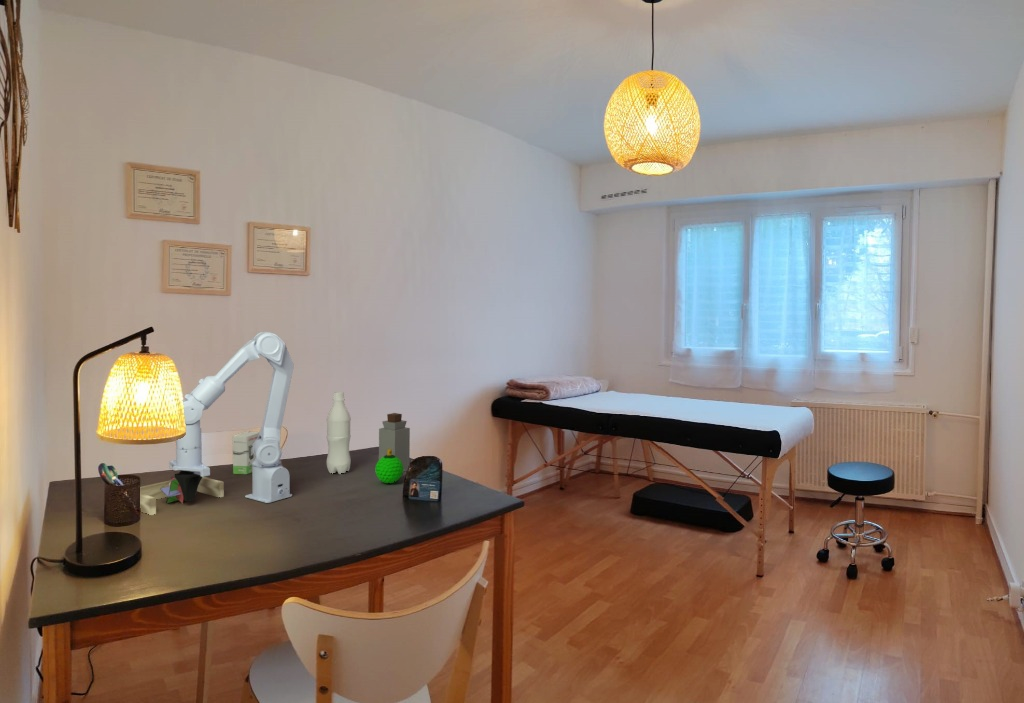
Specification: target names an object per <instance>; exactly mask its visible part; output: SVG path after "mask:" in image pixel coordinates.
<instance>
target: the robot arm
mask: <svg viewBox="0 0 1024 703" xmlns="http://www.w3.org/2000/svg"><path fill="white" fill-rule="evenodd" d="M259 355H260V356H261V357H263V358H265V359H266V361H267V362H268V363H269V365H270V366H271V367H272V369H273V372H272V375H271V376H272V377H271V381H270V385H269V390H268V395H267V398H266V399H267V400H266V404H265V410H264V414H263V419H262V425H261V427H260V430H259V431H258V432H259V436H258V438H257V439H256V441H255V442H254V444H253V447H252V450H253V453H254V455H255V456H256V459H255V461H254V462H253V463H252V472H251V473H252V475H251V476H252V481H251V482H252V485H251V486H252V488H251V489H252V493H250V494H246V495H244V496H245V498H246V499H250V500H254V501H258V502H261V503H265V504H270V503H273V502H277V501H280V500H284V499H286V498H291V497H292V496H293V494H292V493H290V487H291V486H290V477H291V476H290V472H289V470H288V469H287V468H286V467H284V466H283V464H282V459H281V458H282V454H283V453H282V449H281V440H282V439H281V438H282V434H281V431H282V430H281V429H282V425H283V420H284V415H285V412H286V405H287V400H288V396H289V391H290V387H291V386H290V385H291V381H292V376H293V371H294V362H293V359H292V357H291V356H290V353H289V351H288V348H287V345H286V342H284V340H283V339H282V338H280V336H279V335H277V334H275V333H273V332H269V331H261V332H258V333H257V334H256V335H255V336H254V337H253V339H250V340H248V341H247V342H246V343H245V344H244V345H242V346H241V347H240V348H239V349H238V350H237V351H236V352H235V353H234V355H232V356H231V358H229V360H228V361H227V362H226V363H225V364H224V365H223V367H221V369H220V370H219V371H218V372H217V373H216V374H215V375H207V376H205V378H200V379H199V380H198V381H197V382H198V384H197V386H196V387H194V389H193V390H191V391H190V393H189V394H188V393H186V394H185V395H184V396H183V397H184V398H185V399H183V400H182V401H183V405H184V415H185V424H186V435H185V436H184V437H183V438H181V439H178V440H176V439H175V448H176V449H175V457H176V459H173V460H169V461H168V464H169V465H168V468H169V469H170V470H173V471H179V472H177V473H175V474H174V475H173V477H175V478H176V479H177V481H178V483H179V485H180V487H181V490H182V494H183V497H184V500H183V501H184V502H191V501H194V500H195V499H196V495H197V492H198V491H197V488H198V485H199V483H200V481H201V479H202V477H208V476H211V469H210V467H209V466H206V464H204V463H203V460H202V459H203V458H202V453H203V452H202V428H201V419H202V418H203V414H204V413H203V411H206V410H208V409H209V408H210V407H211V406H212V405H213V404H214V403H215V402H216V401H217V399H219V398H220V397H221V396H222V395H223V394H224V393H225V391H226V386H225V384H226V383H227V382H228V381H230V380H231V378H233V377H234V376H235V374H237V373H238V372H239V371H240V370H241V369H242V368H243V367H244V366H245V365H247V363H250V362H253V361H256V360H259V359H261V357H260V356H259Z"/></svg>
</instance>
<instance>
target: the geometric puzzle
mask: <svg viewBox="0 0 1024 703" xmlns="http://www.w3.org/2000/svg"><path fill="white" fill-rule="evenodd" d="M169 481H170V482H169V487H166V488H160V489H161V490H162V491H163V492H164V493H165V494H166V495H167V496H168V497H166V501H165V502H166V504H170V503H174V502H176V501H177V502H179V504H180V503H181V504H184V503H185V500H184V497H183V494H182V490H181V487H180V485H179V483H178V481H177V479H176V478H175V476H171V477H170V479H169ZM167 484H168V483H167ZM164 486H165V485H164Z"/></svg>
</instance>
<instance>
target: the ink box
mask: <svg viewBox="0 0 1024 703" xmlns="http://www.w3.org/2000/svg"><path fill="white" fill-rule="evenodd" d="M259 432H260V431H253V430H246V431H243V432H240V433H237V434H234V435H232V474H233V475H249V474H251V473H252V463H253V462H254V461H255V459H256V456H255V455H254V453H253V450H252V447H253V444H254V442H255V441H256V439H257V438H258V436H259Z"/></svg>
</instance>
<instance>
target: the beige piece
mask: <svg viewBox="0 0 1024 703" xmlns="http://www.w3.org/2000/svg"><path fill="white" fill-rule="evenodd" d="M169 482H170V480H166V481H161V482H156V483H152V484H147V485H142V486H139V487H140V508H141V512H140V513H142V512H143V514H145V513H147V514H146V515H148V514H149V516H154V514H155V515H157V500H156V499H158V500H161V498H162V499H166V498H168V496H167V495H166V494H165V493H164V492H163V491H162V490H161V489H160V488H166V487H169ZM167 483H168V484H167ZM224 483H225V482H224V481H222V480H218V479H214V478H211V477H208V476H204V477H202V479H201V481H200V483H199V485H198V488H197V492H199V493H202V494H205V495H209V496H213V497H217V498H219V497H220V498H224V497H225V492H224V490H225V488H224V487H225V484H224ZM164 485H165V486H164ZM165 497H166V498H165Z"/></svg>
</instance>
